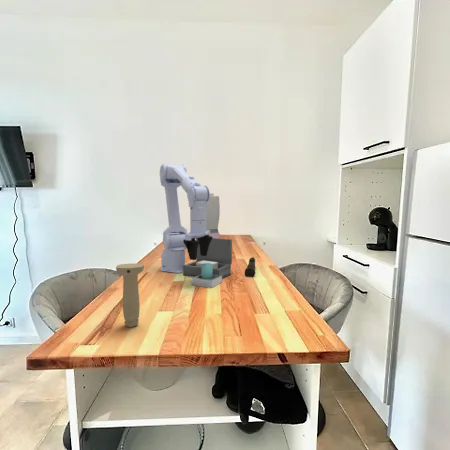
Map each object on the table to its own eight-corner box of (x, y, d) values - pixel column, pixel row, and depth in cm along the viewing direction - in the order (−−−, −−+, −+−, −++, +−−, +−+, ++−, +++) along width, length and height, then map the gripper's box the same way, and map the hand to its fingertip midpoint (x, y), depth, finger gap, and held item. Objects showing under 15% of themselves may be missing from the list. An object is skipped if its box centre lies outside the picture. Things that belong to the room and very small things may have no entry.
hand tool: (254, 278, 124) (254, 266, 124) (244, 277, 125) (244, 265, 124) (259, 267, 143) (259, 256, 142) (250, 266, 143) (250, 256, 143)
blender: (211, 259, 157) (211, 193, 154) (191, 256, 164) (191, 193, 161) (228, 254, 171) (228, 193, 167) (209, 251, 177) (209, 193, 174)
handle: (120, 321, 81) (118, 263, 80) (146, 320, 82) (144, 263, 81) (116, 330, 77) (114, 268, 75) (143, 328, 77) (142, 267, 76)
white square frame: (192, 284, 114) (192, 278, 114) (203, 279, 121) (203, 273, 121) (211, 287, 110) (211, 280, 110) (222, 282, 117) (222, 275, 117)
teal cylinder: (199, 284, 115) (199, 265, 114) (204, 281, 118) (204, 262, 118) (209, 285, 113) (209, 266, 112) (214, 282, 117) (214, 263, 116)
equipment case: (183, 275, 127) (182, 240, 125) (197, 269, 136) (197, 236, 135) (219, 280, 120) (219, 243, 118) (231, 273, 129) (231, 239, 128)
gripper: (197, 222, 106) (197, 262, 107) (217, 218, 119) (217, 255, 120) (179, 221, 109) (180, 260, 110) (201, 218, 122) (201, 253, 123)
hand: (198, 257), depth 115 cm, fingers open, 7 cm apart
